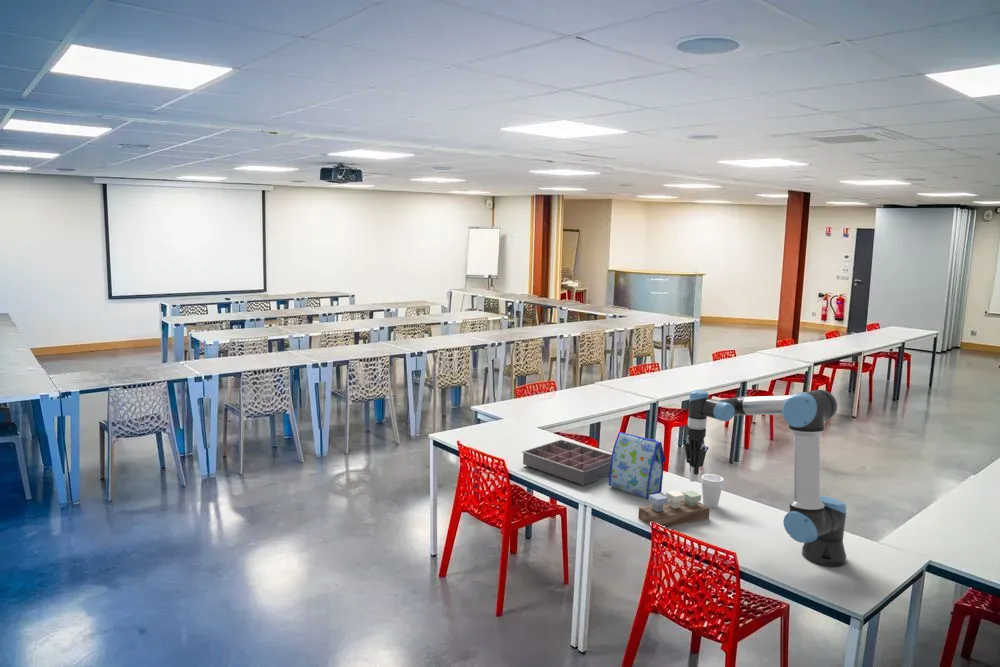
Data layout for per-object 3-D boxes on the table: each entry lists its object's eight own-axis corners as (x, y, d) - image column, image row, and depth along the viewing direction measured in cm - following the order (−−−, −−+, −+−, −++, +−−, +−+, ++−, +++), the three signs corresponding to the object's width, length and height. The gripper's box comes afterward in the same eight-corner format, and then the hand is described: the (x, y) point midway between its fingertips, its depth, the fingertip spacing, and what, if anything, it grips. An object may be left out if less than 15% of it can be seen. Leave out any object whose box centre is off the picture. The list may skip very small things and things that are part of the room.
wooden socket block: (708, 518, 290) (709, 507, 289) (656, 529, 278) (657, 518, 277) (689, 508, 300) (690, 497, 300) (638, 518, 288) (639, 507, 288)
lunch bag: (665, 491, 320) (669, 437, 316) (648, 501, 307) (652, 445, 303) (623, 479, 334) (626, 427, 330) (606, 488, 321) (609, 435, 317)
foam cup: (706, 510, 299) (708, 482, 297) (695, 502, 307) (697, 474, 306) (725, 508, 301) (727, 480, 299) (713, 500, 310) (716, 473, 308)
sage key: (700, 508, 291) (701, 495, 290) (690, 510, 289) (691, 497, 288) (691, 503, 296) (692, 490, 295) (681, 505, 294) (682, 492, 293)
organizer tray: (560, 453, 371) (561, 435, 369) (622, 472, 343) (623, 453, 342) (520, 466, 348) (521, 447, 346) (583, 488, 320) (584, 468, 319)
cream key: (684, 508, 287) (685, 494, 286) (673, 510, 285) (674, 496, 284) (675, 503, 292) (676, 490, 291) (665, 505, 290) (666, 492, 289)
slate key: (667, 511, 283) (668, 497, 282) (656, 513, 281) (657, 499, 280) (658, 506, 288) (659, 493, 287) (648, 508, 286) (649, 495, 285)
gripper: (714, 430, 283) (711, 484, 286) (693, 422, 295) (689, 474, 298) (700, 432, 280) (697, 487, 283) (679, 424, 291) (676, 477, 295)
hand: (693, 480), depth 290 cm, fingers closed
